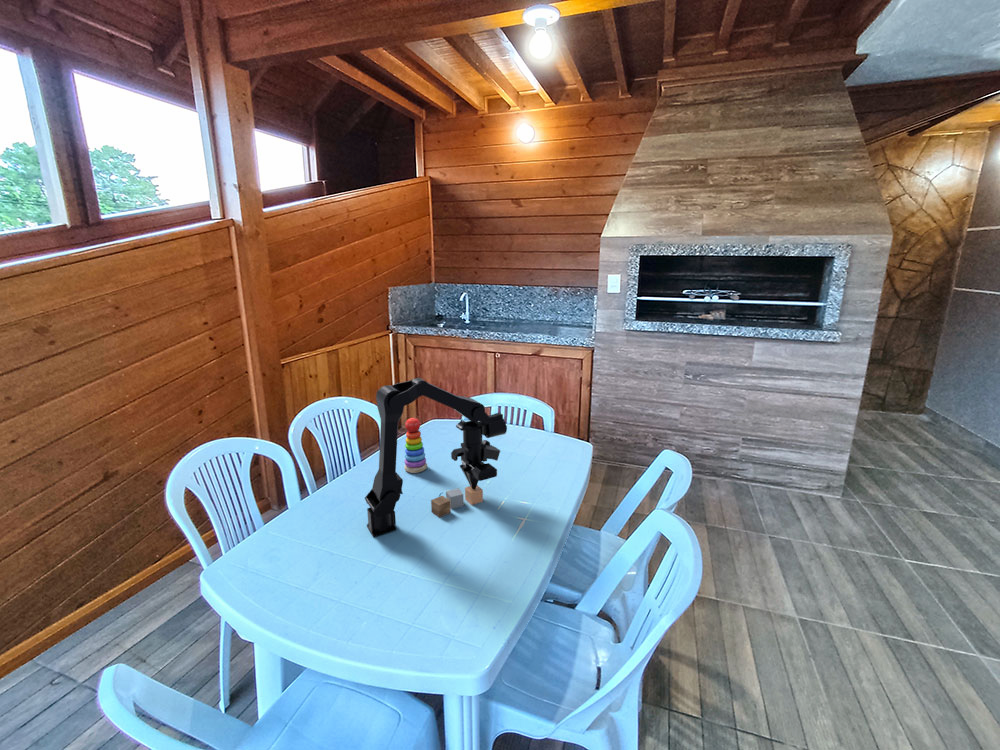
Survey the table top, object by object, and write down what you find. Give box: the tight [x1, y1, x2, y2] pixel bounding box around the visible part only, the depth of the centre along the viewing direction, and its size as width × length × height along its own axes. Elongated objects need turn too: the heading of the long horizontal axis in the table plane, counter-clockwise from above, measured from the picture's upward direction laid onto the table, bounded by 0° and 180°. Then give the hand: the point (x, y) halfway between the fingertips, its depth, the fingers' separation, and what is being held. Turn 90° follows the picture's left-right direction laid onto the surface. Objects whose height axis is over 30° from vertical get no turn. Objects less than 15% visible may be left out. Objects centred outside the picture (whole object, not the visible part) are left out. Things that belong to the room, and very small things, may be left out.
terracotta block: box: [464, 484, 484, 506], centre depth 145 cm, size 4×4×4 cm
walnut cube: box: [430, 495, 452, 518], centre depth 139 cm, size 4×4×4 cm
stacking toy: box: [403, 417, 428, 474], centre depth 165 cm, size 8×8×19 cm
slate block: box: [445, 488, 465, 510], centre depth 143 cm, size 4×4×4 cm
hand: (473, 488), depth 145 cm, fingers closed
